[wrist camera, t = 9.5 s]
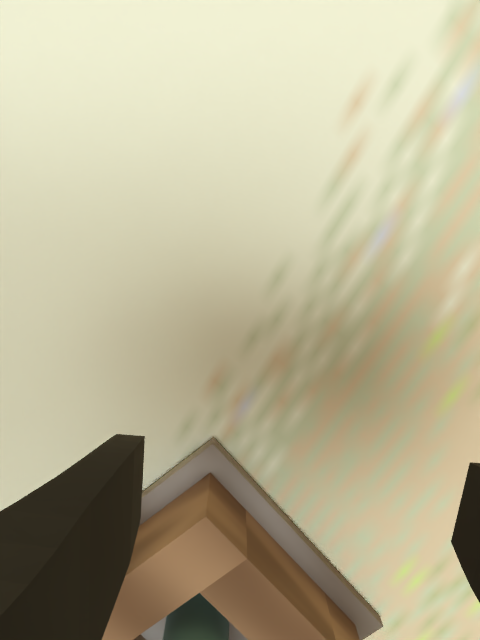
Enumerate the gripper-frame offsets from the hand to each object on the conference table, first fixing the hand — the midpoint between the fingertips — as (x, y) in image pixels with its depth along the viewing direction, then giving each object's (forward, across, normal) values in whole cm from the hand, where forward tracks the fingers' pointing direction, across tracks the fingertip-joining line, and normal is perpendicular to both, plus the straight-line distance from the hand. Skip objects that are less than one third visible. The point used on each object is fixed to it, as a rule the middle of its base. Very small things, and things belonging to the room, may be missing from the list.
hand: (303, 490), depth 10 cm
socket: (+10, +2, +13) cm, 17 cm away
